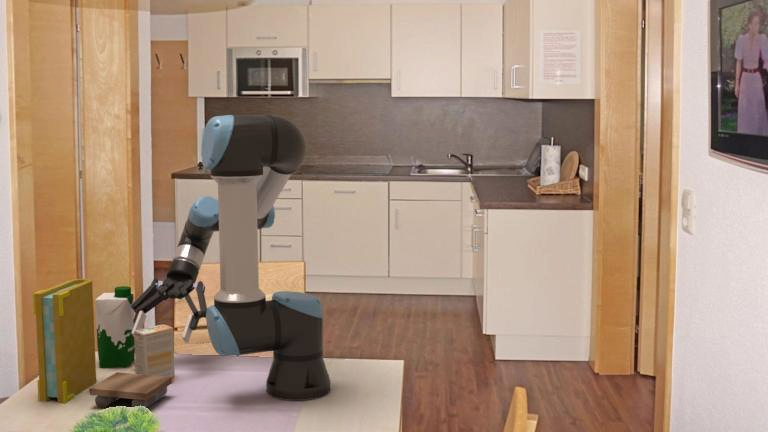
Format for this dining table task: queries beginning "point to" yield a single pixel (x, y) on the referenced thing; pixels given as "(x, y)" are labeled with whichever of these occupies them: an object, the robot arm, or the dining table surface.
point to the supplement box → (154, 351)
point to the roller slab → (130, 389)
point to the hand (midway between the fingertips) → (159, 338)
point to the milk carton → (115, 328)
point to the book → (65, 339)
